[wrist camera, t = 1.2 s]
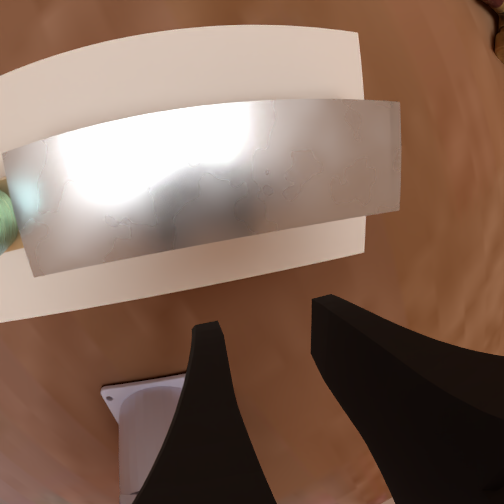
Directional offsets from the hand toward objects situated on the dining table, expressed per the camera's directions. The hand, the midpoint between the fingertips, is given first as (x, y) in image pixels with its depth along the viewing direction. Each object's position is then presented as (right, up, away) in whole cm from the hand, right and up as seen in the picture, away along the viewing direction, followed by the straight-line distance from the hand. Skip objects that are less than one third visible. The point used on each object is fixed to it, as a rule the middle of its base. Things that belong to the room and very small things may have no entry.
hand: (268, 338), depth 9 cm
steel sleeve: (-3, +7, +7) cm, 10 cm away
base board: (-11, +6, +6) cm, 14 cm away
